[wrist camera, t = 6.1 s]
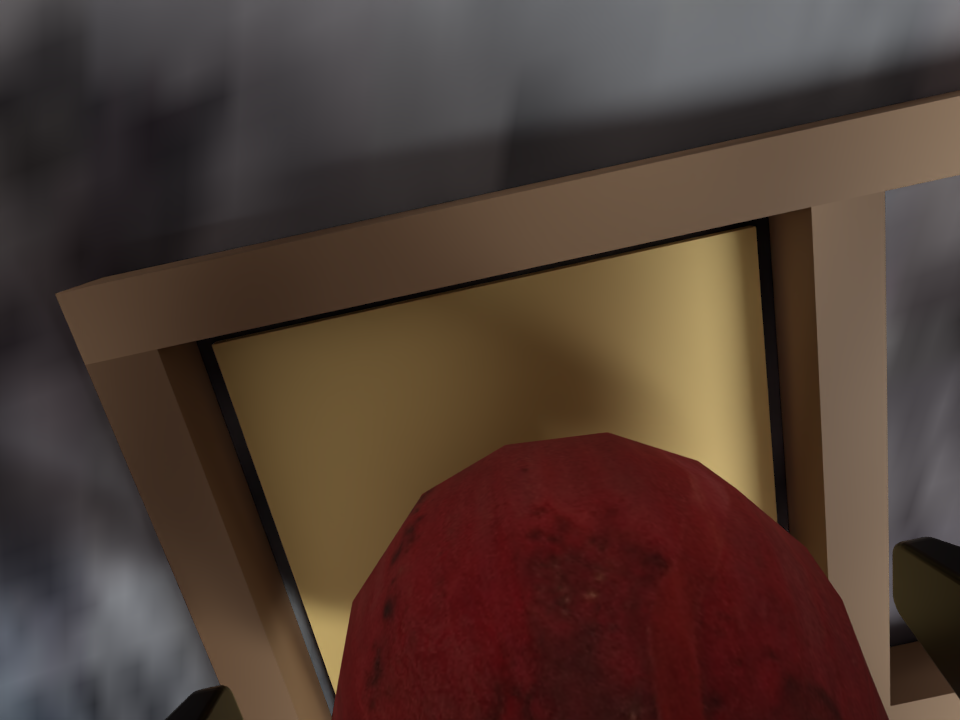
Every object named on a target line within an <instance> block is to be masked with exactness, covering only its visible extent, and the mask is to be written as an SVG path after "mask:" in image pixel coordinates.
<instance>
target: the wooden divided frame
mask: <svg viewBox="0 0 960 720" xmlns="http://www.w3.org/2000/svg"><path fill="white" fill-rule="evenodd" d="M956 175H960V90H958V91H953V92H949V93H944V94H940V95H935V96H931V97H926V98H921V99H917V100H912V101H908V102H903V103H899V104H894V105H889V106H885V107H880V108H876V109H871V110H867V111H862V112H857V113H853V114H848V115H844V116H839V117H835V118H830V119H825V120H821V121H816V122H812V123H807V124H803V125H798V126H793V127H789V128H784V129H780V130H775V131H771V132H766V133H761V134H757V135H752V136H748V137H743V138H739V139H734V140H729V141H725V142H720V143H716V144H711V145H707V146H702V147H697V148H693V149H688V150H684V151H679V152H675V153H670V154H665V155H661V156H656V157H652V158H647V159H643V160H638V161H633V162H629V163H624V164H620V165H615V166H611V167H606V168H601V169H597V170H592V171H588V172H583V173H579V174H574V175H569V176H565V177H560V178H556V179H551V180H547V181H542V182H537V183H533V184H528V185H524V186H519V187H515V188H510V189H505V190H501V191H496V192H492V193H487V194H483V195H478V196H473V197H469V198H464V199H460V200H455V201H451V202H446V203H441V204H437V205H432V206H428V207H423V208H419V209H414V210H409V211H405V212H400V213H396V214H391V215H387V216H382V217H377V218H373V219H368V220H364V221H359V222H355V223H350V224H345V225H341V226H336V227H332V228H327V229H323V230H318V231H313V232H309V233H304V234H300V235H295V236H291V237H286V238H281V239H277V240H272V241H268V242H263V243H259V244H254V245H249V246H245V247H240V248H236V249H231V250H227V251H222V252H217V253H213V254H208V255H204V256H199V257H195V258H190V259H185V260H181V261H176V262H172V263H167V264H163V265H158V266H153V267H149V268H144V269H140V270H135V271H131V272H126V273H121V274H117V275H112V276H108V277H103V278H100V279H97V280H94V281H91V282H88V283H85V284H82V285H79V286H76V287H73V288H71V289H68V290H65V291H62V292H59V293H56V294H55V295H56V297H57V300H58V302H59V304H60V307H61V309H62V312H63V314H64V316H65V319H66V321H67V323H68V326H69V328H70V330H71V333H72V335H73V338H74V340H75V342H76V345H77V347H78V349H79V352H80V354H81V356H82V359H83V361H84V364H85V366H86V368H87V371H88V373H89V375H90V378H91V380H92V382H93V385H94V387H95V390H96V392H97V394H98V397H99V399H100V401H101V404H102V406H103V408H104V411H105V413H106V416H107V418H108V420H109V423H110V425H111V427H112V430H113V432H114V434H115V437H116V439H117V442H118V444H119V446H120V449H121V451H122V453H123V456H124V458H125V460H126V463H127V465H128V468H129V470H130V472H131V475H132V477H133V479H134V482H135V484H136V486H137V489H138V491H139V494H140V496H141V498H142V501H143V503H144V505H145V508H146V510H147V512H148V515H149V517H150V520H151V522H152V524H153V527H154V529H155V531H156V534H157V536H158V538H159V541H160V543H161V546H162V548H163V550H164V553H165V555H166V557H167V560H168V562H169V564H170V567H171V569H172V572H173V574H174V576H175V579H176V581H177V583H178V586H179V588H180V590H181V593H182V595H183V598H184V600H185V602H186V605H187V607H188V609H189V612H190V614H191V616H192V619H193V621H194V624H195V626H196V628H197V631H198V633H199V635H200V638H201V640H202V642H203V645H204V647H205V650H206V652H207V654H208V657H209V659H210V661H211V664H212V666H213V668H214V671H215V673H216V676H217V678H218V680H219V683H220V685H224V686H227V687H229V688H230V689H231V691H232V693H233V695H234V697H235V699H236V702H237V704H238V707H239V709H240V711H241V714H242V716H243V719H244V720H332V716H331V714H330V711H329V708H328V705H327V703H326V700H325V697H324V694H323V692H322V689H321V686H320V683H319V681H318V678H317V675H316V672H315V669H314V667H313V664H312V661H311V658H310V656H309V653H308V650H307V647H306V645H305V642H304V639H303V636H302V634H301V631H300V628H299V625H298V622H297V620H296V617H295V614H294V611H293V609H292V606H291V603H290V600H289V598H288V595H287V592H286V589H285V587H284V584H283V581H282V578H281V575H280V573H279V570H278V567H277V564H276V562H275V559H274V556H273V553H272V551H271V548H270V545H269V542H268V540H267V537H266V534H265V531H264V528H263V526H262V523H261V520H260V517H259V515H258V512H257V509H256V506H255V504H254V501H253V498H252V495H251V493H250V490H249V487H248V484H247V481H246V479H245V476H244V473H243V470H242V468H241V465H240V462H239V459H238V457H237V454H236V451H235V448H234V446H233V443H232V440H231V437H230V434H229V432H228V429H227V426H226V423H225V421H224V418H223V415H222V412H221V410H220V407H219V404H218V401H217V399H216V396H215V393H214V390H213V387H212V385H211V382H210V379H209V376H208V374H207V371H206V368H205V365H204V363H203V360H202V357H201V354H200V352H199V349H198V346H197V343H196V341H198V340H202V339H207V338H211V337H216V336H221V335H225V334H230V333H234V332H239V331H244V330H248V329H253V328H257V327H262V326H267V325H271V324H276V323H280V322H285V321H290V320H294V319H299V318H303V317H308V316H313V315H317V314H322V313H326V312H331V311H336V310H340V309H345V308H349V307H354V306H359V305H363V304H368V303H372V302H377V301H382V300H386V299H391V298H395V297H400V296H405V295H409V294H414V293H418V292H423V291H427V290H432V289H437V288H441V287H446V286H450V285H455V284H460V283H464V282H469V281H473V280H478V279H483V278H487V277H492V276H496V275H501V274H506V273H510V272H515V271H519V270H524V269H529V268H533V267H538V266H542V265H547V264H552V263H556V262H561V261H565V260H570V259H575V258H579V257H584V256H588V255H593V254H598V253H602V252H607V251H611V250H616V249H621V248H625V247H630V246H634V245H639V244H644V243H648V242H653V241H657V240H662V239H667V238H671V237H676V236H680V235H685V234H689V233H694V232H699V231H703V230H708V229H712V228H717V227H722V226H726V225H731V224H735V223H740V222H745V221H749V220H754V219H758V218H763V217H768V216H769V230H770V245H771V260H772V275H773V290H774V305H775V320H776V335H777V350H778V365H779V381H780V396H781V411H782V426H783V441H784V456H785V471H786V486H787V501H788V516H789V531H790V534H791V535H792V536H793V537H794V538H795V539H797V540H798V541H799V542H800V543H801V544H803V545H804V546H805V547H806V548H807V549H808V551H809V552H810V554H811V555H812V556H813V558H814V559H815V561H816V562H817V564H818V565H819V567H820V568H821V569H822V571H823V572H824V574H825V575H826V577H827V578H828V580H829V581H830V583H831V584H832V585H833V587H834V588H835V590H836V591H837V593H838V594H839V596H840V597H841V599H842V600H843V603H844V605H845V608H846V611H847V613H848V616H849V619H850V621H851V624H852V626H853V629H854V632H855V634H856V637H857V639H858V642H859V645H860V647H861V650H862V653H863V655H864V658H865V660H866V663H867V666H868V668H869V671H870V673H871V676H872V678H873V681H874V683H875V686H876V688H877V691H878V693H879V696H880V698H881V701H882V703H883V706H884V708H885V711H886V713H887V715H888V718H889V720H960V699H959V698H958V696H957V695H956V694H955V692H954V691H953V689H952V688H951V686H950V685H949V684H948V682H947V681H946V679H945V678H944V677H943V675H942V674H941V672H940V671H939V669H938V668H937V667H936V665H935V664H934V662H933V661H932V659H931V658H930V657H929V655H928V654H927V652H926V651H925V650H924V648H923V647H922V645H921V644H920V642H919V641H917V642H912V643H907V644H903V645H898V646H893V647H890V631H889V537H888V443H887V349H886V255H885V191H887V190H892V189H896V188H901V187H906V186H910V185H915V184H919V183H924V182H929V181H933V180H938V179H942V178H947V177H951V176H956ZM212 347H213V350H214V353H215V356H216V358H217V361H218V364H219V367H220V370H221V373H222V375H223V378H224V381H225V384H226V387H227V389H228V392H229V395H230V398H231V401H232V404H233V406H234V409H235V412H236V415H237V418H238V421H239V423H240V426H241V429H242V432H243V435H244V437H245V440H246V443H247V446H248V449H249V452H250V454H251V457H252V460H253V463H254V466H255V469H256V471H257V474H258V477H259V480H260V483H261V485H262V488H263V491H264V494H265V497H266V500H267V502H268V505H269V508H270V511H271V514H272V516H273V519H274V522H275V525H276V528H277V531H278V533H279V536H280V539H281V542H282V545H283V548H284V550H285V553H286V556H287V559H288V562H289V564H290V567H291V570H292V573H293V576H294V579H295V581H296V584H297V587H298V590H299V593H300V596H301V598H302V601H303V604H304V607H305V610H306V612H307V615H308V618H309V621H310V624H311V627H312V629H313V632H314V635H315V638H316V641H317V644H318V646H319V649H320V652H321V655H322V658H323V660H324V663H325V666H326V669H327V672H328V675H329V677H330V680H331V683H332V686H333V689H334V691H335V694H336V691H337V685H338V679H339V673H340V668H341V662H342V656H343V651H344V645H345V640H346V634H347V629H348V623H349V618H350V612H351V607H352V602H353V600H354V598H355V597H356V595H357V594H358V592H359V591H360V589H361V588H362V586H363V585H364V583H365V582H366V580H367V578H368V577H369V575H370V574H371V572H372V571H373V569H374V568H375V566H376V565H377V563H378V561H379V560H380V558H381V557H382V555H383V554H384V552H385V551H386V549H387V548H388V546H389V544H390V543H391V541H392V540H393V538H394V537H395V535H396V534H397V532H398V531H399V529H400V528H401V526H402V524H403V523H404V521H405V520H406V518H407V517H408V515H409V514H410V512H411V511H412V509H413V507H414V506H415V504H416V503H417V501H418V500H419V498H420V497H421V495H422V494H423V493H425V492H426V491H428V490H430V489H431V488H433V487H435V486H436V485H438V484H440V483H442V482H443V481H445V480H447V479H448V478H450V477H452V476H453V475H455V474H457V473H458V472H460V471H462V470H464V469H465V468H467V467H469V466H470V465H472V464H474V463H475V462H477V461H479V460H480V459H482V458H484V457H486V456H487V455H489V454H491V453H492V452H494V451H496V450H497V449H499V448H501V447H502V446H504V445H508V444H516V443H524V442H532V441H540V440H548V439H556V438H564V437H572V436H580V435H588V434H596V433H604V432H609V433H612V434H615V435H618V436H621V437H624V438H628V439H631V440H634V441H637V442H640V443H643V444H647V445H650V446H653V447H656V448H659V449H662V450H665V451H669V452H672V453H675V454H678V455H681V456H684V457H688V458H691V459H694V460H697V461H699V462H700V463H702V464H703V465H705V466H706V467H707V468H709V469H710V470H712V471H713V472H714V473H716V474H717V475H718V476H720V477H721V478H723V479H724V480H725V481H727V482H728V483H730V484H731V485H732V486H734V487H735V488H736V489H738V490H739V491H740V492H741V493H742V494H743V495H745V496H746V497H747V498H748V499H749V500H751V501H752V502H753V503H754V504H755V505H756V506H758V507H759V508H760V509H761V510H762V511H764V512H765V513H766V514H767V515H768V516H769V517H771V518H772V519H773V520H774V521H775V522H777V510H776V497H775V483H774V469H773V455H772V442H771V428H770V414H769V400H768V387H767V373H766V359H765V345H764V332H763V318H762V304H761V290H760V277H759V263H758V249H757V235H756V227H755V226H745V227H740V228H736V229H731V230H727V231H722V232H717V233H713V234H708V235H704V236H699V237H694V238H690V239H685V240H681V241H676V242H671V243H667V244H662V245H658V246H653V247H648V248H644V249H639V250H635V251H630V252H625V253H621V254H616V255H612V256H607V257H602V258H598V259H593V260H589V261H584V262H579V263H575V264H570V265H566V266H561V267H556V268H552V269H547V270H543V271H538V272H533V273H529V274H524V275H520V276H515V277H510V278H506V279H501V280H497V281H492V282H487V283H483V284H478V285H474V286H469V287H464V288H460V289H455V290H451V291H446V292H441V293H437V294H432V295H428V296H423V297H418V298H414V299H409V300H405V301H400V302H395V303H391V304H386V305H382V306H377V307H372V308H368V309H363V310H359V311H354V312H350V313H345V314H340V315H336V316H331V317H327V318H322V319H317V320H313V321H308V322H304V323H299V324H294V325H290V326H285V327H281V328H276V329H271V330H267V331H262V332H258V333H253V334H248V335H244V336H239V337H235V338H230V339H225V340H221V341H216V342H215V343H214V344H212Z"/></svg>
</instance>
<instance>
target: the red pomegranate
mask: <svg viewBox="0 0 960 720" xmlns="http://www.w3.org/2000/svg"><path fill="white" fill-rule="evenodd" d="M332 720H889V718H888V715H887V713H886V711H885V708H884V706H883V703H882V701H881V698H880V696H879V693H878V691H877V688H876V686H875V683H874V681H873V678H872V676H871V673H870V671H869V668H868V666H867V663H866V660H865V658H864V655H863V653H862V650H861V647H860V645H859V642H858V639H857V637H856V634H855V632H854V629H853V626H852V624H851V621H850V619H849V616H848V613H847V611H846V608H845V605H844V603H843V600H842V599H841V597H840V596H839V594H838V593H837V591H836V590H835V588H834V587H833V585H832V584H831V583H830V581H829V580H828V578H827V577H826V575H825V574H824V572H823V571H822V569H821V568H820V567H819V565H818V564H817V562H816V561H815V559H814V558H813V556H812V555H811V554H810V552H809V551H808V549H807V548H806V547H805V546H804V545H803V544H801V543H800V542H799V541H798V540H797V539H795V538H794V537H793V536H792V535H791V534H790V533H788V532H787V531H786V530H785V529H784V528H782V527H781V526H780V525H779V524H778V523H777V522H775V521H774V520H773V519H772V518H771V517H769V516H768V515H767V514H766V513H765V512H764V511H762V510H761V509H760V508H759V507H758V506H756V505H755V504H754V503H753V502H752V501H751V500H749V499H748V498H747V497H746V496H745V495H743V494H742V493H741V492H740V491H739V490H738V489H736V488H735V487H734V486H732V485H731V484H730V483H728V482H727V481H725V480H724V479H723V478H721V477H720V476H718V475H717V474H716V473H714V472H713V471H712V470H710V469H709V468H707V467H706V466H705V465H703V464H702V463H700V462H699V461H697V460H694V459H691V458H688V457H684V456H681V455H678V454H675V453H672V452H669V451H665V450H662V449H659V448H656V447H653V446H650V445H647V444H643V443H640V442H637V441H634V440H631V439H628V438H624V437H621V436H618V435H615V434H612V433H609V432H604V433H596V434H588V435H580V436H572V437H564V438H556V439H548V440H540V441H532V442H524V443H516V444H508V445H504V446H502V447H501V448H499V449H497V450H496V451H494V452H492V453H491V454H489V455H487V456H486V457H484V458H482V459H480V460H479V461H477V462H475V463H474V464H472V465H470V466H469V467H467V468H465V469H464V470H462V471H460V472H458V473H457V474H455V475H453V476H452V477H450V478H448V479H447V480H445V481H443V482H442V483H440V484H438V485H436V486H435V487H433V488H431V489H430V490H428V491H426V492H425V493H423V494H422V495H421V497H420V498H419V500H418V501H417V503H416V504H415V506H414V507H413V509H412V511H411V512H410V514H409V515H408V517H407V518H406V520H405V521H404V523H403V524H402V526H401V528H400V529H399V531H398V532H397V534H396V535H395V537H394V538H393V540H392V541H391V543H390V544H389V546H388V548H387V549H386V551H385V552H384V554H383V555H382V557H381V558H380V560H379V561H378V563H377V565H376V566H375V568H374V569H373V571H372V572H371V574H370V575H369V577H368V578H367V580H366V582H365V583H364V585H363V586H362V588H361V589H360V591H359V592H358V594H357V595H356V597H355V598H354V600H353V602H352V607H351V612H350V618H349V623H348V629H347V634H346V640H345V645H344V651H343V656H342V662H341V668H340V673H339V679H338V685H337V691H336V697H335V702H334V708H333V714H332Z"/></svg>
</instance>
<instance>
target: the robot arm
mask: <svg viewBox="0 0 960 720" xmlns="http://www.w3.org/2000/svg"><path fill="white" fill-rule="evenodd" d="M893 598H894V602H895V605H896V608H897V610H898V612H899V614H900V615H901V617H902V618H903V620H904V621H905V623H906V624H907V625H908V627H909V628H910V630H911V631H912V632H913V634H914V635H915V637H916V638H917V640H918V641H919V642H920V644H921V645H922V647H923V648H924V650H925V651H926V652H927V654H928V655H929V657H930V658H931V659H932V661H933V662H934V664H935V665H936V667H937V668H938V669H939V671H940V672H941V674H942V675H943V677H944V678H945V679H946V681H947V682H948V684H949V685H950V686H951V688H952V689H953V691H954V692H955V694H956V695H957V696H958V698H959V699H960V547H959V546H956V545H953V544H950V543H947V542H944V541H941V540H938V539H935V538H932V537H921V538H917V539H912V540H907V541H902V542H899V543H898V544H896V545H895V547H894V549H893ZM165 720H244V719H243V716H242V714H241V711H240V709H239V707H238V704H237V702H236V699H235V697H234V695H233V693H232V691H231V689H230V688H229V687H227V686H224V685H220V686H215V687H210V688H205V689H201V690H198V691H195V692H193V693H192V694H191V695H190V696H189V697H188V698H187V699H186V700H185V701H184V702H183V703H181V704H180V705H179V706H178V707H177V708H176V709H175V710H174V711H173V712H172V713H171V714H170V715H169V716H168V717H167V718H166V719H165Z"/></svg>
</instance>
